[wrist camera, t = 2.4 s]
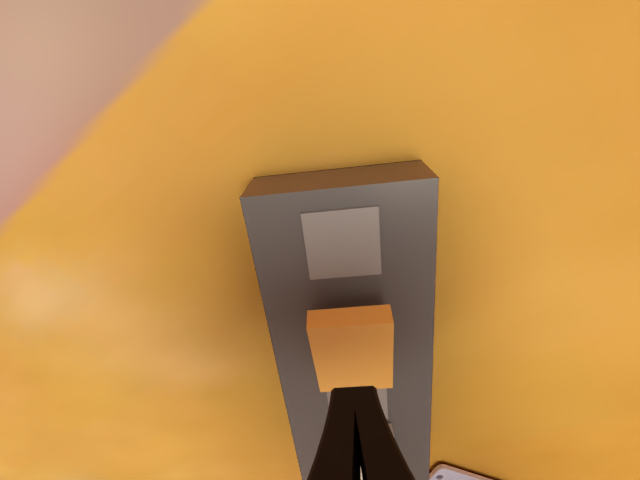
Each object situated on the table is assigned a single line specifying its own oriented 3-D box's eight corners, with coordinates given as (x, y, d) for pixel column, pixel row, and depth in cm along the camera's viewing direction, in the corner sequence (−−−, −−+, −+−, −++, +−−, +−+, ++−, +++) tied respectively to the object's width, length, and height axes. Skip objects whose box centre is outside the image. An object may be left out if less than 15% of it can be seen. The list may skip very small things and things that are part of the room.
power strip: (418, 439, 25) (429, 486, 22) (307, 444, 26) (304, 490, 23) (421, 160, 17) (440, 178, 14) (254, 177, 17) (238, 198, 14)
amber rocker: (389, 369, 18) (392, 388, 17) (320, 373, 18) (320, 392, 18) (390, 304, 15) (393, 322, 14) (307, 310, 15) (306, 329, 15)
